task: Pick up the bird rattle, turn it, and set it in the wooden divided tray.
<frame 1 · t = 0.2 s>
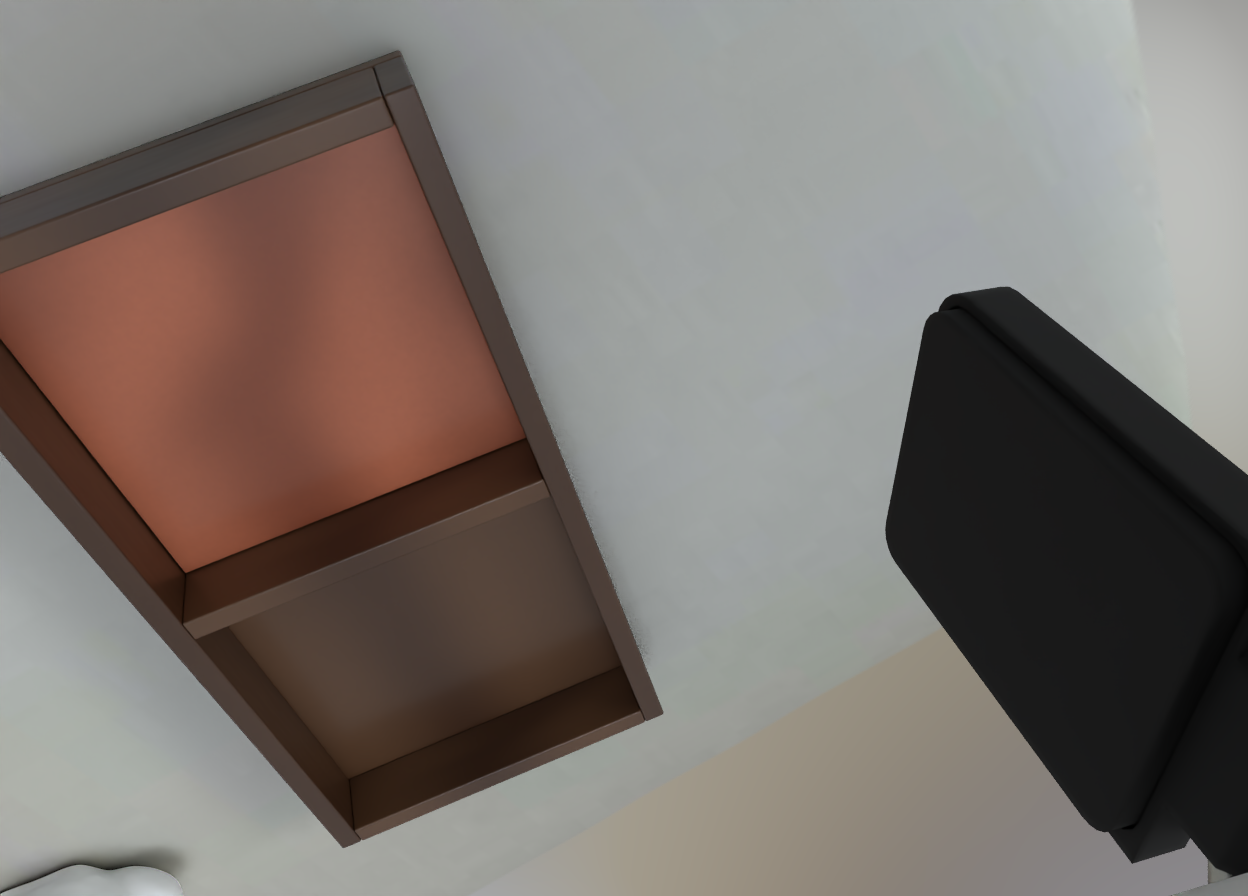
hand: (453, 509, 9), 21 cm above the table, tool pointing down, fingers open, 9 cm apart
wooden divided tray: (361, 501, 35), on the table
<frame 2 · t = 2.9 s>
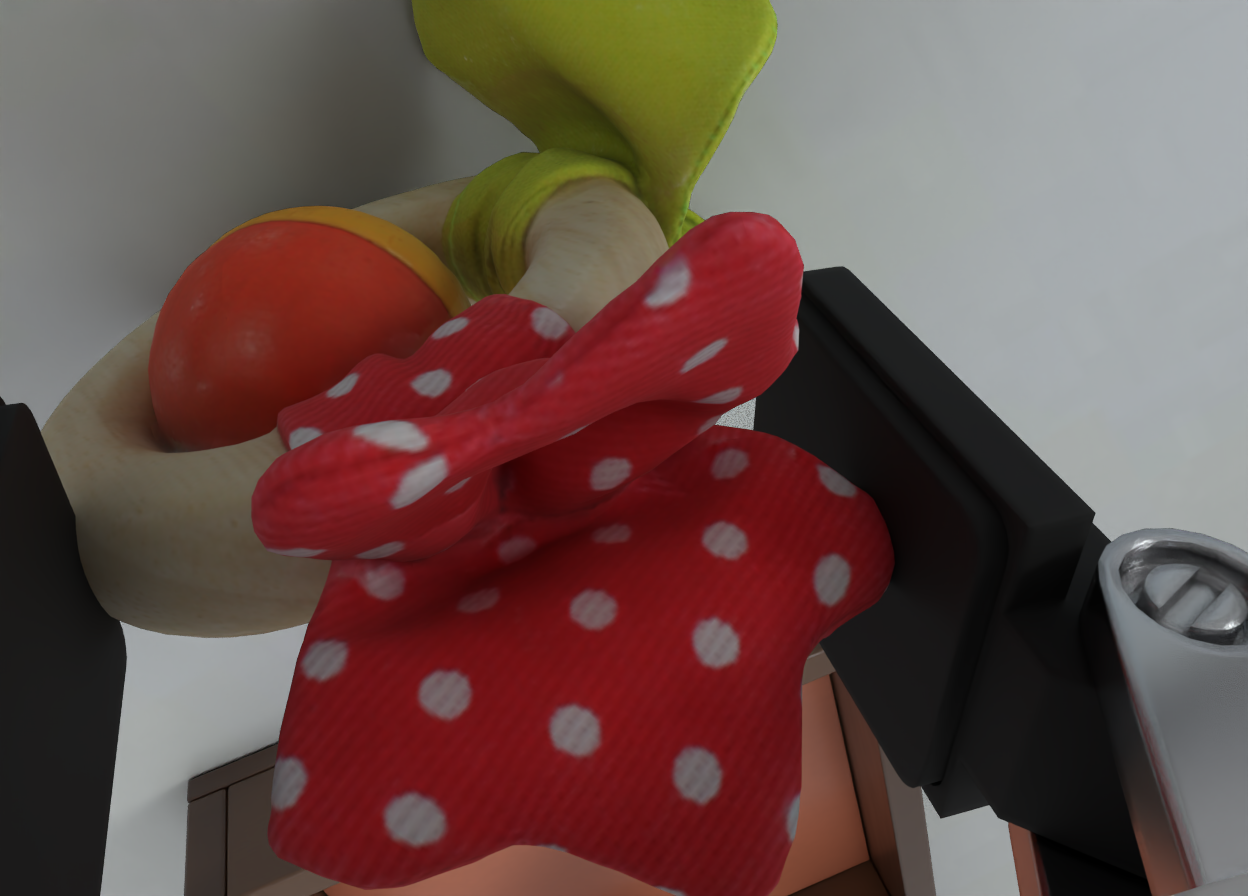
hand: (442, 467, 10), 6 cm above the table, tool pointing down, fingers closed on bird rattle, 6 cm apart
bird rattle: (409, 188, 15), on the table, touching gripper
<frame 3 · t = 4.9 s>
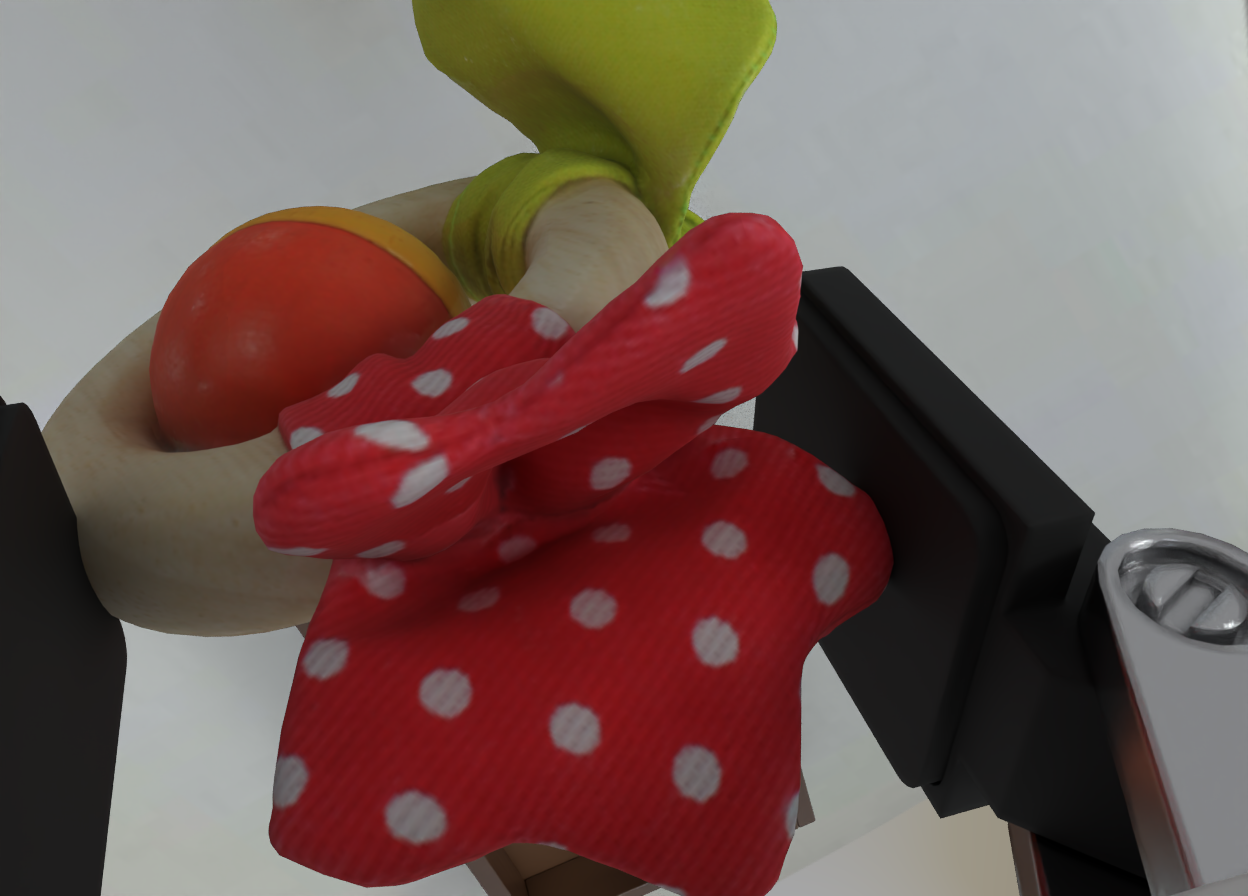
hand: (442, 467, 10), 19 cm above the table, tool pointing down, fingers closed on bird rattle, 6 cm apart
wooden divided tray: (565, 643, 39), on the table
bird rattle: (410, 189, 15), point 12 cm above the table, touching gripper
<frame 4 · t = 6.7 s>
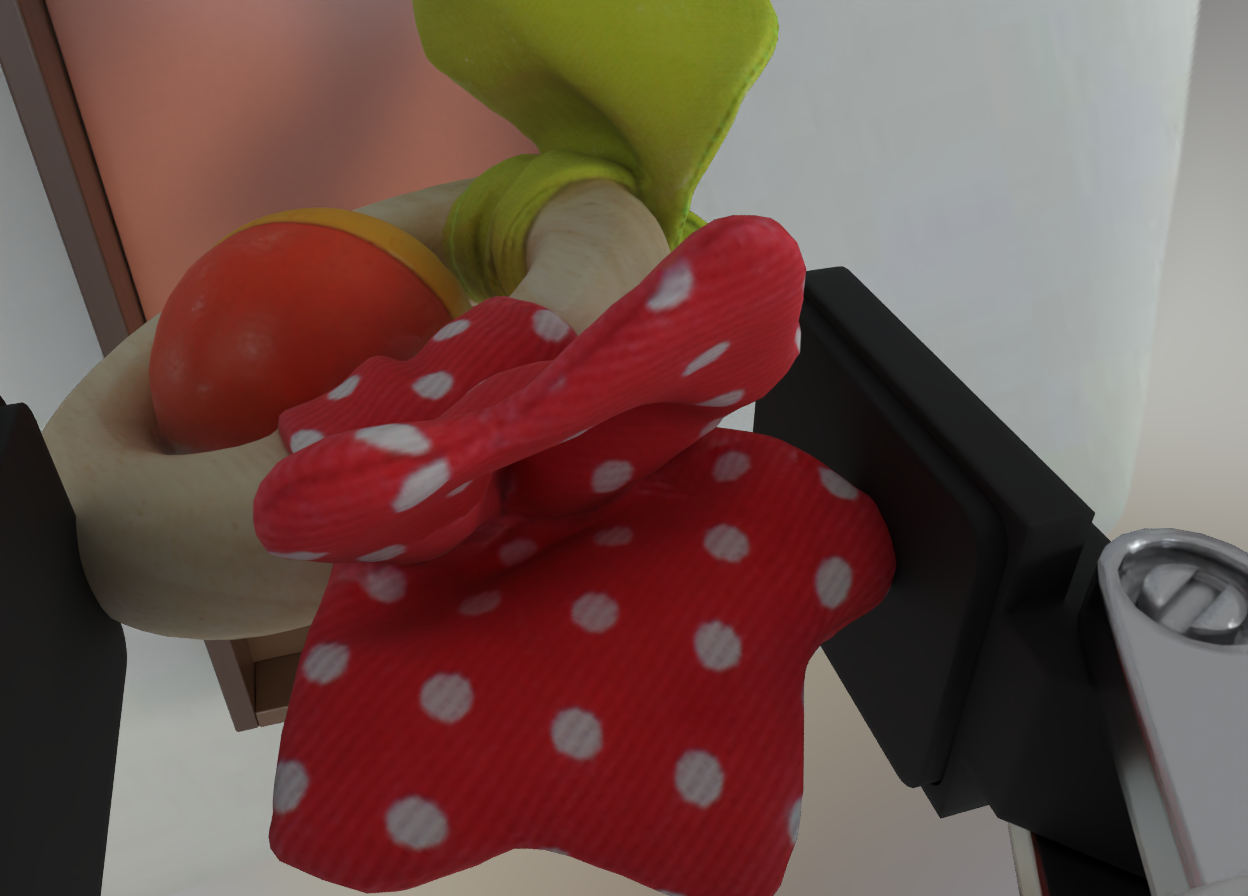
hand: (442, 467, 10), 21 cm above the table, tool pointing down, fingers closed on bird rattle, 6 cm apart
wooden divided tray: (367, 340, 33), on the table
bird rattle: (410, 190, 15), point 15 cm above the table, touching gripper
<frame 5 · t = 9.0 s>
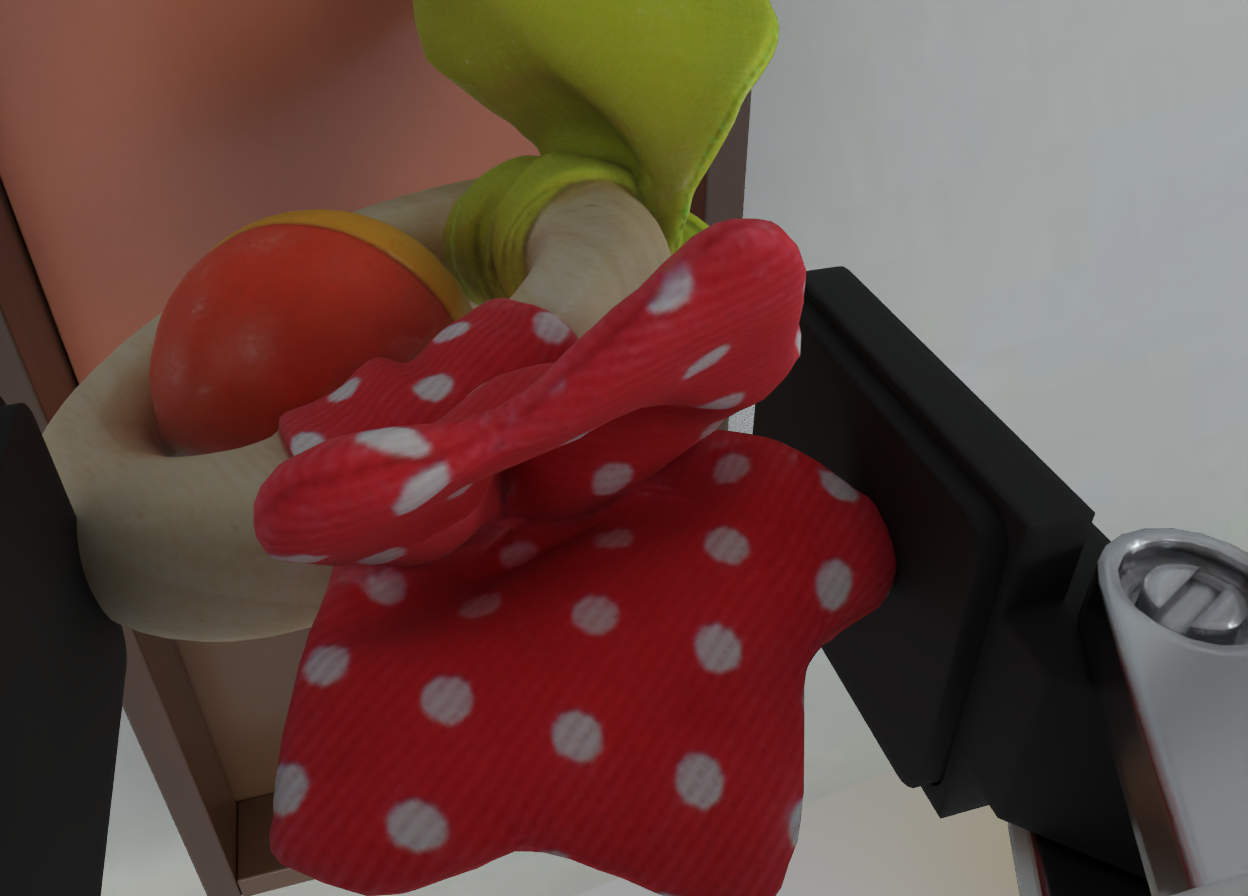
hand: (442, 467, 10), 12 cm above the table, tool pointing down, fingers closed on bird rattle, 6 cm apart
wooden divided tray: (393, 377, 23), on the table
bird rattle: (410, 191, 15), point 6 cm above the table, touching gripper
when the fingers open (7 cm above the table, at t = 10.7 s): bird rattle stays where it is, resting on wooden divided tray.
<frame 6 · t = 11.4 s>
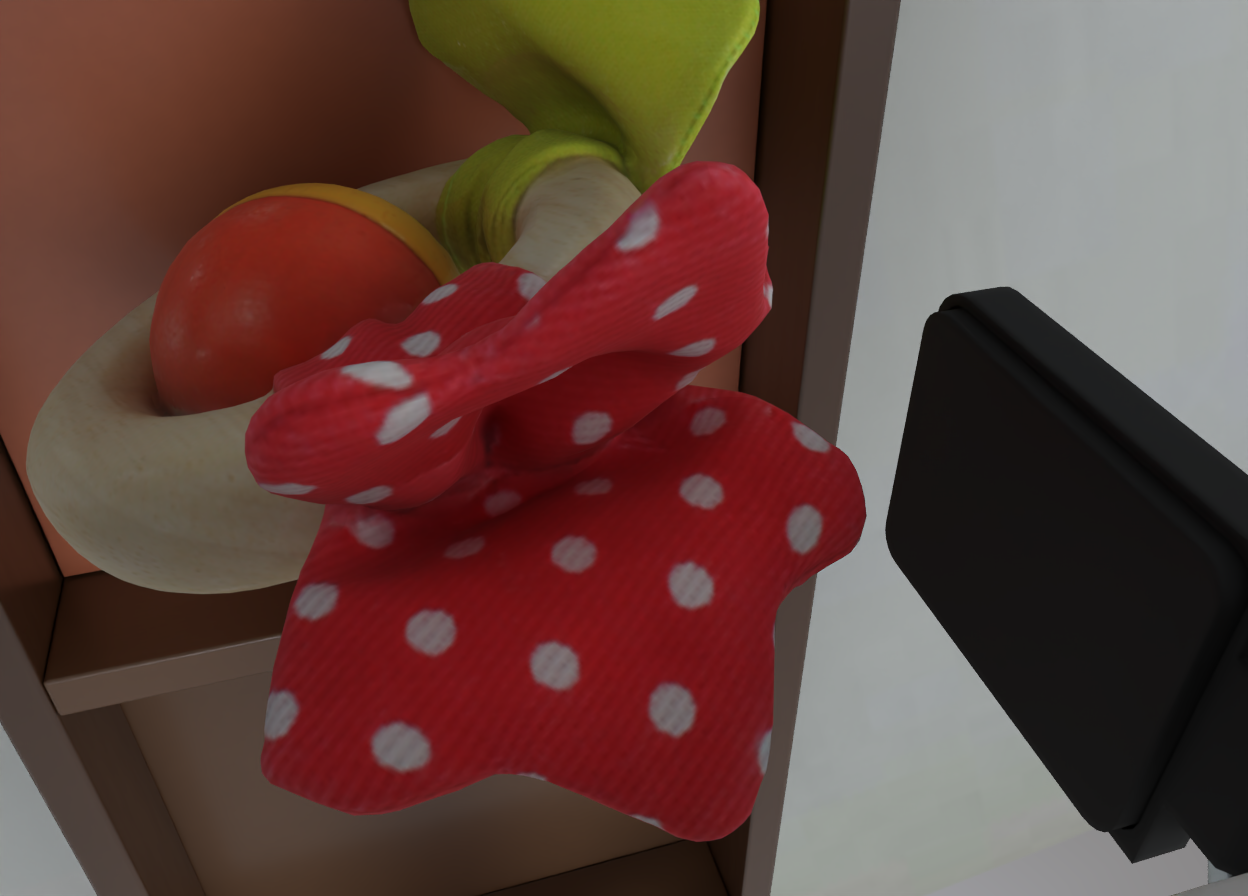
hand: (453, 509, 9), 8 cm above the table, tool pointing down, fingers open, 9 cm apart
wooden divided tray: (420, 506, 19), on the table
bird rattle: (405, 173, 15), point 1 cm above the table, touching wooden divided tray
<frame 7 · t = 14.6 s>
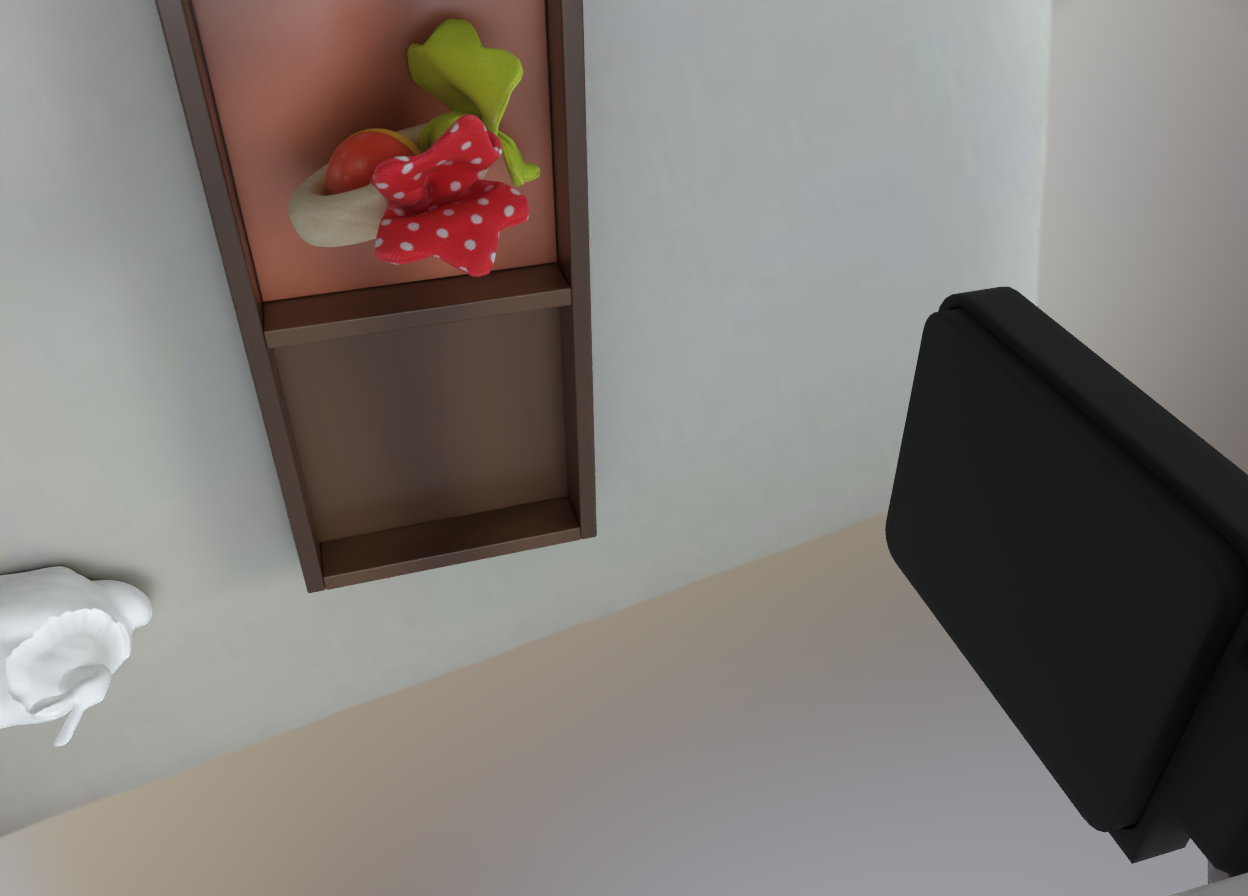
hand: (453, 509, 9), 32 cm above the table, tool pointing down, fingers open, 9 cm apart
wooden divided tray: (413, 283, 43), on the table
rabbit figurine: (9, 601, 47), on the table
bird rattle: (407, 129, 39), point 1 cm above the table, touching wooden divided tray
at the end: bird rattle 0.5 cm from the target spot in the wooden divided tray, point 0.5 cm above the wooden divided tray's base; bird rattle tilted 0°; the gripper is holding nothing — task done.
